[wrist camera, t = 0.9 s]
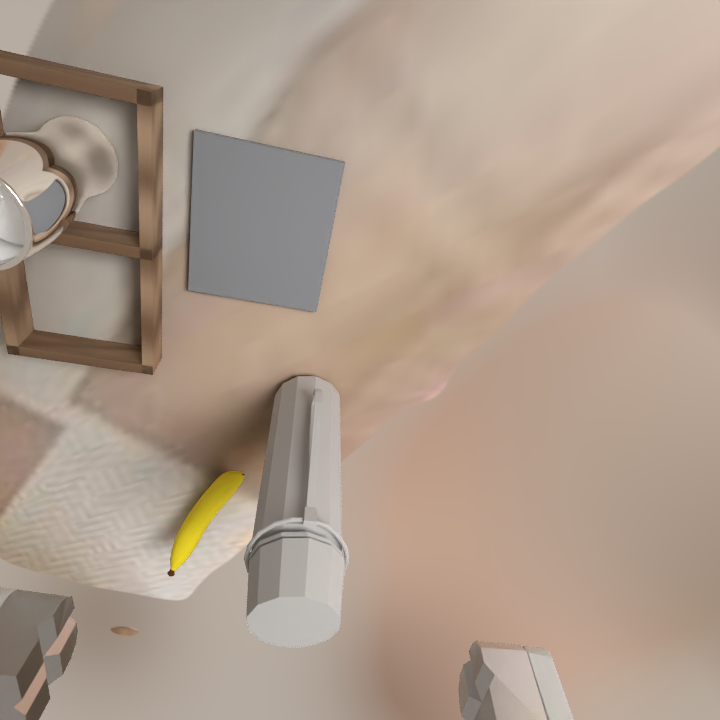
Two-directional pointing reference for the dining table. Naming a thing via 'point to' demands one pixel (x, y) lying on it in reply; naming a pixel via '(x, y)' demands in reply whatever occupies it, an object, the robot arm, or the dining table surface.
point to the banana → (203, 516)
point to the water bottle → (299, 521)
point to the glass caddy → (99, 231)
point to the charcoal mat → (260, 221)
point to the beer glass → (49, 182)
